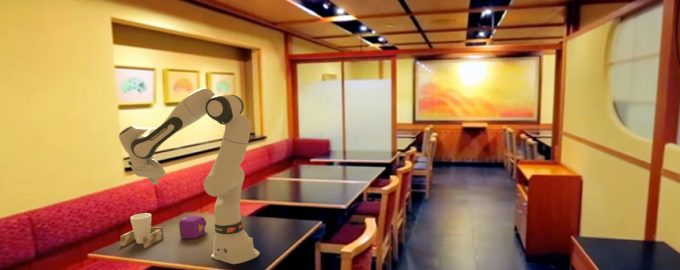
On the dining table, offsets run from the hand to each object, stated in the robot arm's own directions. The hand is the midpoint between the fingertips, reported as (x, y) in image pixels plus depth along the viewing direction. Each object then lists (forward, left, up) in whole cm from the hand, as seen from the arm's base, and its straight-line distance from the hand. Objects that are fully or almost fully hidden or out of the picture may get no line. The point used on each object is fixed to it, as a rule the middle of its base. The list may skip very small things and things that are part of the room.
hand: (156, 183), depth 200 cm
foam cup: (+12, +4, -31) cm, 33 cm away
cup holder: (+12, +5, -30) cm, 33 cm away
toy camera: (0, -17, -31) cm, 35 cm away
